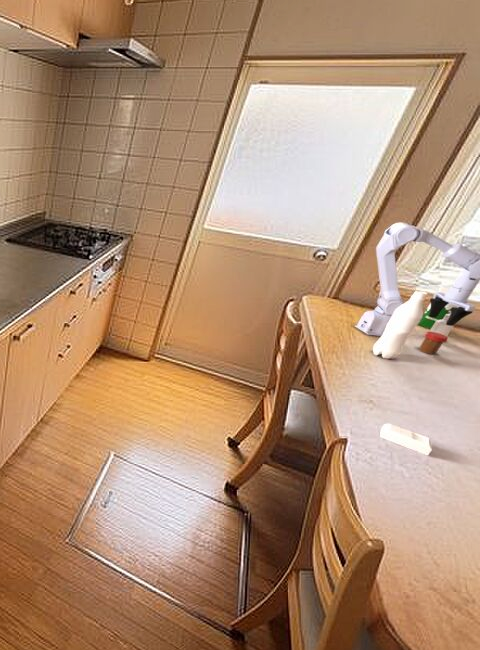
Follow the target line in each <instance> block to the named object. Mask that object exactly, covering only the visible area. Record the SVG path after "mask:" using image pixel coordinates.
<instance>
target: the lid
mask: <svg viewBox="0 0 480 650" xmlns="http://www.w3.org/2000/svg"><path fill="white" fill-rule="evenodd" d="M424 337H425V338H426V337H427V338H429V339H431V340H434V341H438V342H443V343H446V342H447V341H448V339H449V337H448V335H447V336H445V335H442V334H439V333H435V332H429V331H427V332H426V334H425V335H424Z"/></svg>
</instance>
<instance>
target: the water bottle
mask: <svg viewBox="0 0 480 650" xmlns="http://www.w3.org/2000/svg"><path fill="white" fill-rule="evenodd" d="M427 295H428V292H426V291H423V290H415V291H414V292H413V294H412V295H411V296H410V298H409V299H408V300H407V301H405V302H403V303H404V304H402V305H401V306H399V307H398V308H397V309H396V310H395V311H394V313H393V315H392V317H391V318H390V320H389V322H388V323H387V326H386V328H385V331H384V333H383V334H382V336H379V339H378V340H377V341H376V342H375V343H374V344H373V348H372V349H373V350H372V351H373V355H375V356H379V355H381V358H382V359H386V360H389V359H391V360H393V359H396V358H397V357H398V356H399V355H400V353H402V349H403V348H404V344H405V342H406V341H407V339H408V338H409V337H410V335H411V334H412V333H413V332H414V330H415V329H416V327H417V326H418V324H419V322H420V320H421V319H422V316H423V315H424V309H423V302H424V301H425V299H426V297H427Z"/></svg>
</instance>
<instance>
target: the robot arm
mask: <svg viewBox="0 0 480 650" xmlns="http://www.w3.org/2000/svg"><path fill="white" fill-rule="evenodd" d="M412 242H414V243H421V242H422V243H424V244H427V245H429V246H430V247H433V248H434V249H436V250H439V251H440V252H442V257H443V258H444V259H446V260H448V261H450V262H452V263H453V264H455V265H457V266H459V267H461V270H460V271H459V273H458V275H457V276H456V278H455V280H454V281H453V283H452V284H451V287H450V289H449V290H448V292H447V293H446V294H444V293H441V292H438V291H435V292H434V294H433V296H432V297H431V298H430V299H429V301H430V303H431V309H430V314H429V317H435V318H436V317H437V316H438V314H439V313H440V312H441V310H442V309H443V308H444V307H445V306H446V305H447V304H449V303H451V304H453V305H456V306H458V307H459V308H457V307H452V311H451V315H450V317H449V319H448V320H447V322H446V325H449V326H453V325H454V326H455V325H456V324H457V323H458V322H459V321H460V320H462V319H464V318H465V317H467V316H469V315H471V314H473V312H474V311H475V309H476V305H473V304H471V303H470V302H469V298H470V296H471V295H472V294H473V292H474V290H475V289H476V287H477V286H478V284H479V282H480V252H479V251H477V252H476V251H474V250H472V249H470V248H469V247H470V246H469V245H467V244H464V243H463V244H460V243H455V244H451V243H450V242H447V241H446V240H444V239H442V238H440V237H439V236H438V235H435V234H433V233H432V232H430V231H428V230H425V229H424V228H420V227H417V226H415V225H411V224H409V223H407V222H399V221H398V222H395V223H394V224H391V226H389V227H388V228H387V229H385V230H384V233H383V236H382V237H381V239H380V240H379V241H378V244H377V245H376V247H375V253H376V262H377V270H378V271H377V272H378V279H379V287H380V290H379V293H378V294H379V295H378V297H377V300H376V304H377V306H376V307H375V308H374V309H373V310H367V311H365V312H364V313H363V314H362V315H361V317H360V319H359V320H358V323H357V324H356V325H354V327H355V328H356V329H357V330H360V332H362V333H364V334H366V335H369V336H377V337H381V336H382V334H383V333H384V331H385V328H386V326H387V323H388V322H389V320H390V318H391V317H392V315H393V313H394V311H395V310H396V309H397V308H398V307H399V306H401V305H402V304H404V303H405V302H404V301H403V300H402V296H401V293H400V290H399V284H398V283H399V281H398V275H397V274H398V273H397V263H396V255H395V252H396V251H397V250H399V249H400V248H401V247H403V246H406V245H407V244H410V243H412ZM472 291H473V292H472ZM470 294H471V295H470ZM434 297H435V298H434ZM468 297H469V298H468ZM467 299H468V300H467ZM454 326H453V327H454Z"/></svg>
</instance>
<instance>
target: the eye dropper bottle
mask: <svg viewBox="0 0 480 650" xmlns="http://www.w3.org/2000/svg"><path fill="white" fill-rule="evenodd" d="M450 315H451V312H450V313H449V314H446V315H445V316H444V318H443V319H442V320H437V321H436V322H435V324H434V325H433V327H432V328H431V329H429V331H428V332H435V333H439V334H442V335H445V336H447V337H448V335H449V334H450V332H451V331H452V329H453V328H454V326H455V324H454V325H453V326H449V325H446V322H447V320H448V319H449V317H450Z"/></svg>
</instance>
